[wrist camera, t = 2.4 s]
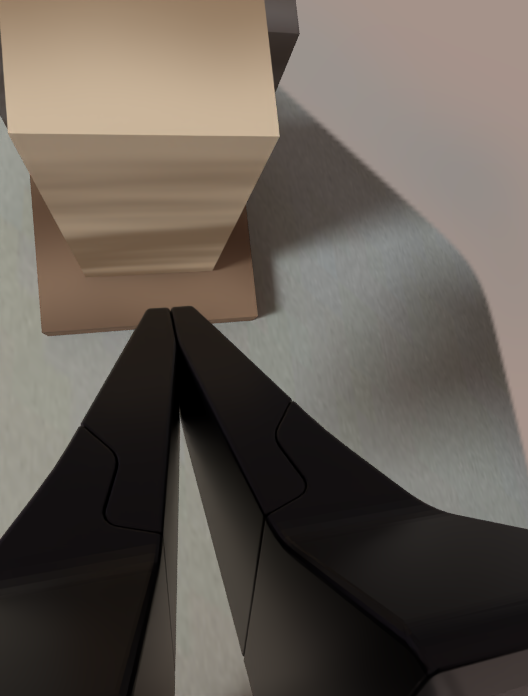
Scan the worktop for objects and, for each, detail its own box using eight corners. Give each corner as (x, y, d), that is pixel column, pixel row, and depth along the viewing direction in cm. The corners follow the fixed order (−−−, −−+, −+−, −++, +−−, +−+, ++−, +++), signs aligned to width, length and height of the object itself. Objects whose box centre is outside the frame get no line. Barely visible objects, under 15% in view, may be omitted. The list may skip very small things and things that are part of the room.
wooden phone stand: (252, 320, 22) (333, 260, 12) (48, 336, 20) (-48, 279, 10) (233, 149, 23) (298, -38, 13) (33, 148, 21) (-71, -75, 11)
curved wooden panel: (212, 270, 21) (279, 136, 10) (85, 277, 19) (7, 133, 9) (203, 189, 21) (261, -28, 10) (78, 190, 20) (-6, -52, 9)
